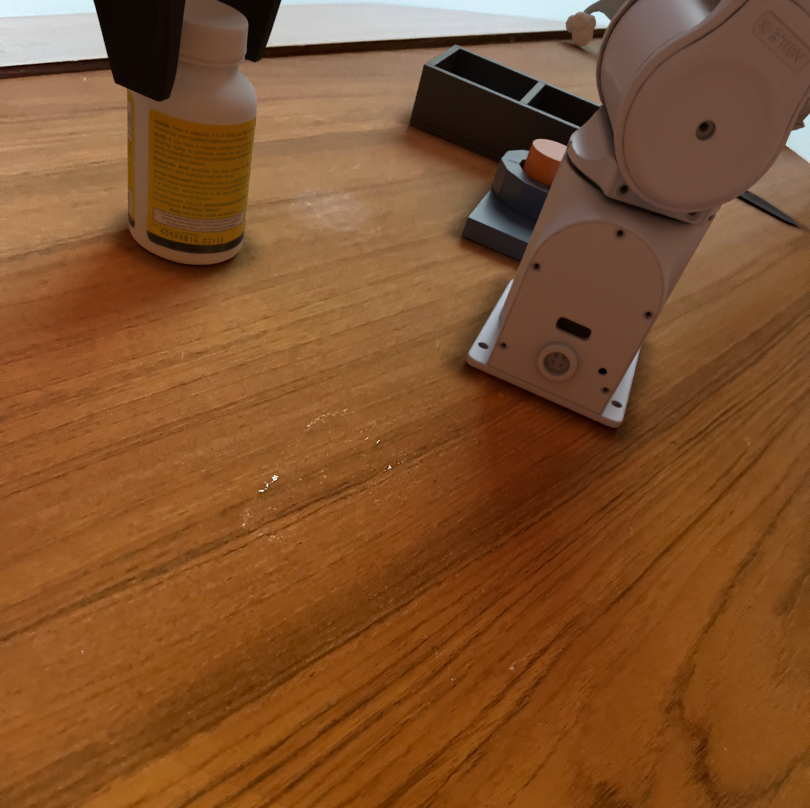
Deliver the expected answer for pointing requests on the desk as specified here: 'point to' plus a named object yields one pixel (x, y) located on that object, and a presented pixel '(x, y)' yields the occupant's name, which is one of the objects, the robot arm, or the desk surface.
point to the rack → (493, 105)
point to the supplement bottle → (195, 144)
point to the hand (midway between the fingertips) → (193, 70)
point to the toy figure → (590, 20)
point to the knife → (766, 206)
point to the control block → (508, 208)
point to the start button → (544, 160)
